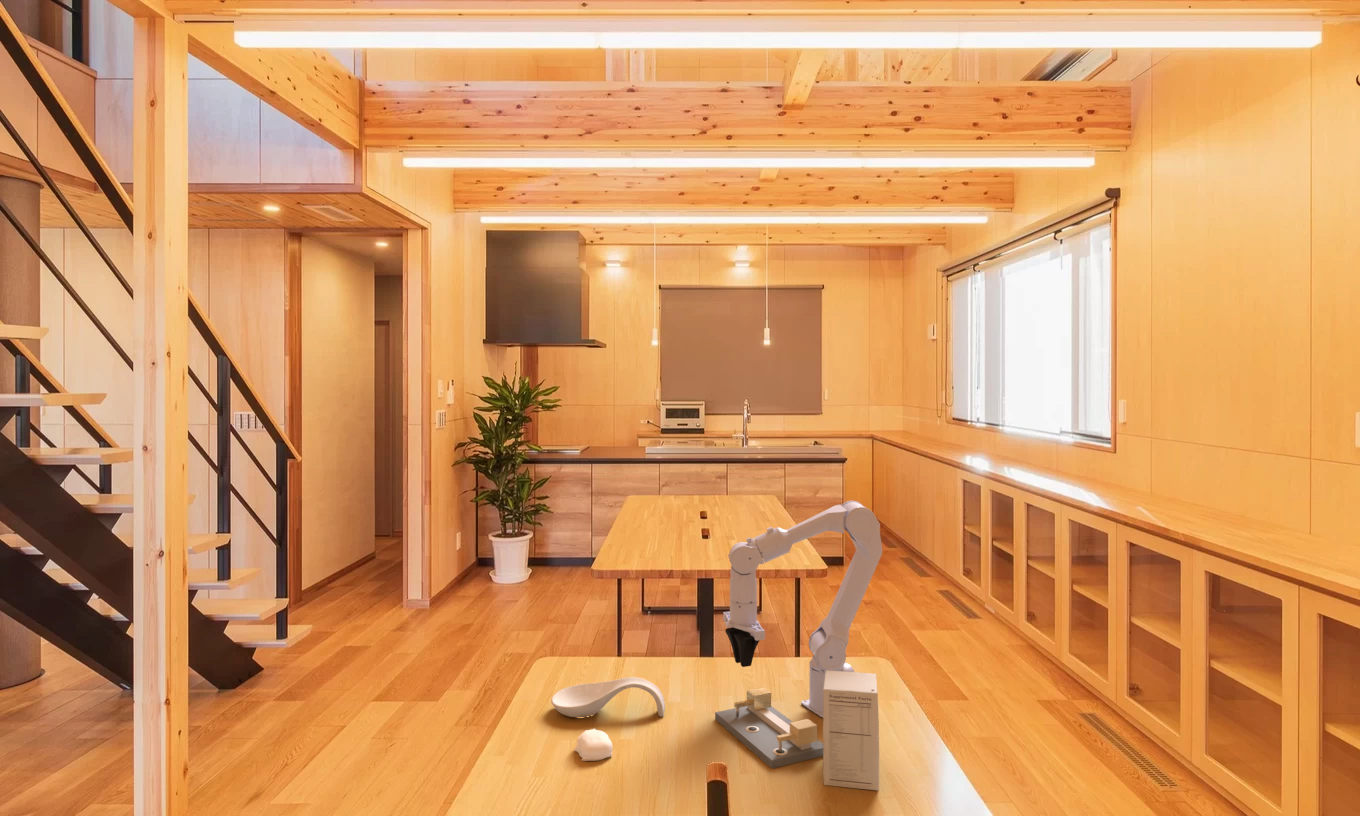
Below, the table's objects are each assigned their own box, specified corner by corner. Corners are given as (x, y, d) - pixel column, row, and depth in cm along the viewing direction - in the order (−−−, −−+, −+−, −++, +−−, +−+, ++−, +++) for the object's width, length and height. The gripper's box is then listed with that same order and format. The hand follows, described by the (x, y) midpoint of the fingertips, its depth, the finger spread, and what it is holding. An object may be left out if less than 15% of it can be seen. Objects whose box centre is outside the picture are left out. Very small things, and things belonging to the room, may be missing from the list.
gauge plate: (765, 708, 160) (765, 682, 160) (827, 754, 140) (827, 724, 140) (715, 719, 155) (715, 691, 155) (771, 768, 135) (771, 737, 135)
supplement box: (878, 765, 136) (878, 672, 136) (879, 792, 127) (880, 693, 127) (824, 759, 139) (824, 668, 138) (822, 785, 130) (822, 688, 129)
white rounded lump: (571, 747, 144) (571, 727, 144) (606, 741, 146) (606, 721, 146) (581, 766, 137) (581, 746, 136) (617, 760, 139) (617, 739, 139)
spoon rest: (546, 725, 153) (546, 690, 153) (557, 701, 165) (557, 668, 165) (663, 726, 153) (663, 691, 153) (665, 701, 165) (665, 669, 164)
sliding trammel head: (763, 707, 157) (763, 687, 157) (771, 712, 154) (771, 692, 154) (731, 713, 154) (731, 693, 154) (738, 719, 151) (739, 698, 151)
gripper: (710, 593, 165) (710, 655, 166) (743, 611, 152) (743, 678, 152) (739, 590, 168) (739, 650, 168) (773, 607, 155) (773, 673, 155)
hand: (743, 663), depth 161 cm, fingers closed
